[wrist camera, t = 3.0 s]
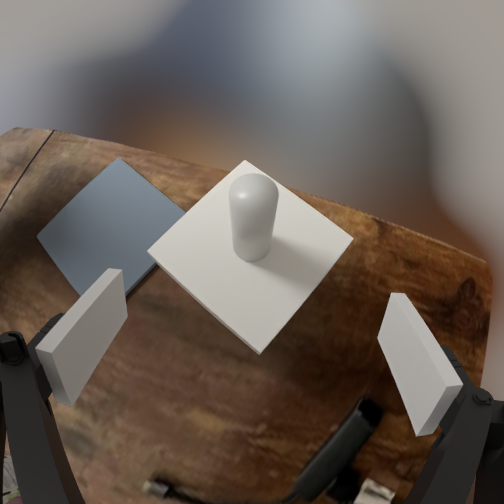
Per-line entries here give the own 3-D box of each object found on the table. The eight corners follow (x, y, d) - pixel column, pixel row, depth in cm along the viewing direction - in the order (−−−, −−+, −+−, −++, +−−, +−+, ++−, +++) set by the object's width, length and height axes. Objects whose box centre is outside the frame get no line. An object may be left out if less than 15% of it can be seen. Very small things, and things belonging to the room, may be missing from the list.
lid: (153, 260, 30) (115, 204, 20) (244, 172, 34) (245, 99, 24) (259, 355, 27) (266, 340, 17) (346, 248, 31) (385, 190, 21)
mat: (38, 238, 42) (36, 236, 41) (120, 160, 48) (118, 157, 47) (102, 321, 38) (99, 320, 37) (197, 224, 43) (196, 221, 43)
